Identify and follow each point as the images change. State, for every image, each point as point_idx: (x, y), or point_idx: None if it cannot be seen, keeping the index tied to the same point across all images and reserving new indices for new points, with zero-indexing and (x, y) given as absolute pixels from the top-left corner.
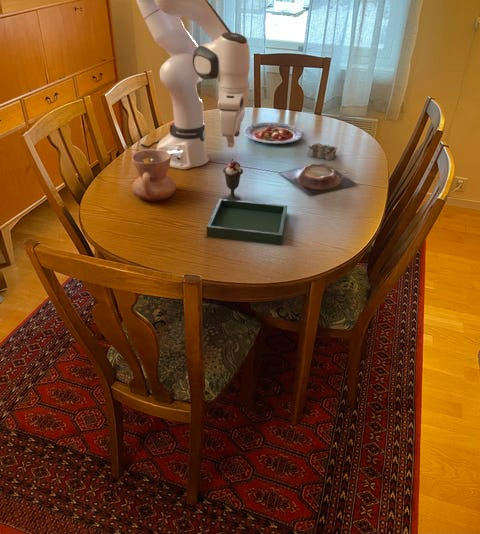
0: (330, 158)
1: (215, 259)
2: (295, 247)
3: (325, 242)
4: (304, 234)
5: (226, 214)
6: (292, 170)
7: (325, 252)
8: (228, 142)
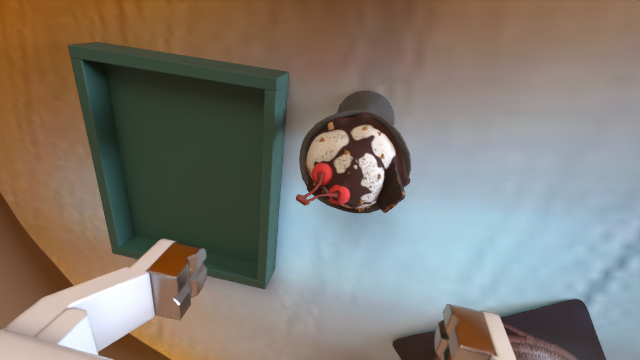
0: None
1: (12, 79)
2: None
3: None
4: None
5: (225, 103)
6: (595, 337)
7: None
8: (138, 268)
